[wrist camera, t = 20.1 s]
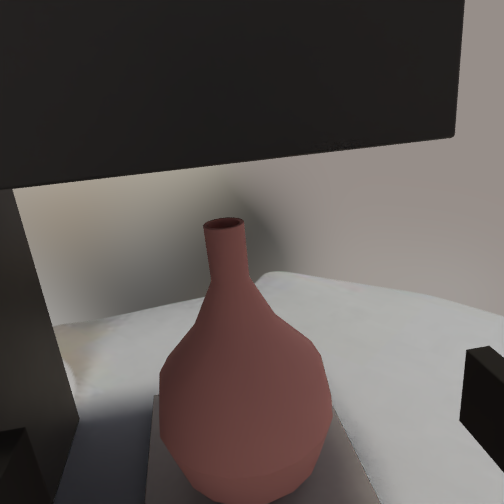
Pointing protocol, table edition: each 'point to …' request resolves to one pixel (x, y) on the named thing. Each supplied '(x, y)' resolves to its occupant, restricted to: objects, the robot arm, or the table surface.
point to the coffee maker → (195, 148)
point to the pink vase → (242, 388)
